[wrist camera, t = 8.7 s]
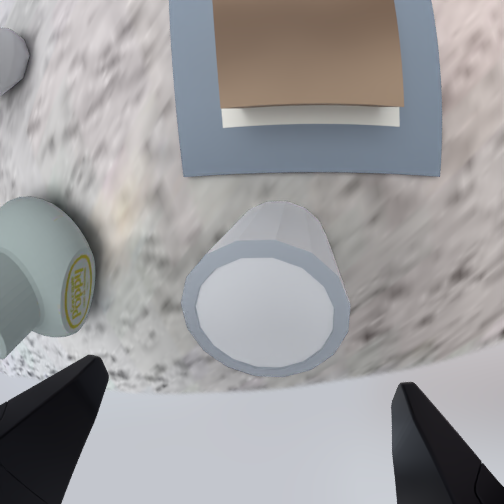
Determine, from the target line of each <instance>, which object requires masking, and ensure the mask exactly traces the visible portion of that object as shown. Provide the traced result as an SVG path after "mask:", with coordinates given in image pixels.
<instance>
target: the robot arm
mask: <svg viewBox="0 0 504 504" xmlns="http://www.w3.org/2000/svg"><path fill="white" fill-rule="evenodd" d="M108 379H109V375H108V372H107V370H106V368H105V366H104V363H103V361H102V359H101V358H100V357H98V356H94V355H87V356H85V357H84V358H82V359H80V360H78V361H77V362H75V363H73V364H72V365H70V366H68V367H66V368H65V369H63V370H61V371H59V372H58V373H56V374H54V375H52V376H51V377H49V378H47V379H45V380H44V381H42V382H40V383H39V384H37V385H35V386H33V387H32V388H30V389H28V390H26V391H24V392H23V393H21V394H19V395H17V396H16V397H14V398H12V399H10V400H9V401H8V402H5V403H3V404H2V405H0V504H61V503H62V500H63V497H64V495H65V492H66V489H67V487H68V484H69V482H70V479H71V476H72V474H73V471H74V469H75V466H76V464H77V461H78V459H79V457H80V454H81V452H82V449H83V447H84V445H85V442H86V440H87V438H88V435H89V433H90V431H91V428H92V426H93V424H94V421H95V419H96V416H97V413H98V411H99V407H100V404H101V401H102V398H103V395H104V392H105V389H106V386H107V383H108ZM391 410H392V455H393V465H394V474H395V484H396V495H397V504H504V487H503V486H502V485H501V484H500V483H499V482H498V480H497V479H496V478H495V477H494V476H493V475H492V474H491V472H490V471H489V470H488V469H487V468H486V466H485V465H484V464H483V463H482V464H481V460H480V459H479V458H478V457H477V455H476V454H475V453H474V452H473V451H472V449H471V448H470V447H469V446H468V445H467V443H466V442H465V441H464V440H463V439H462V438H461V436H460V435H459V434H458V433H457V432H456V430H455V429H454V428H453V427H452V426H451V424H450V423H449V422H448V421H447V420H446V419H445V417H444V416H443V415H442V414H441V413H440V412H439V411H438V409H437V408H436V407H435V406H434V405H433V404H432V402H431V401H430V400H429V399H428V398H427V397H426V395H425V394H424V393H423V392H422V391H421V390H420V389H419V387H418V386H417V385H416V384H415V383H413V382H404V383H400V384H399V385H398V388H397V390H396V393H395V395H394V398H393V400H392V405H391Z"/></svg>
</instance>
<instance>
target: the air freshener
mask: <svg viewBox="0 0 504 504" xmlns="http://www.w3.org/2000/svg"><path fill="white" fill-rule="evenodd" d="M94 286H95V262H94V257H93V254H92V252H91V249H90V247H89V244H88V243H87V241H86V239H85V237H84V235H83V234H82V232H81V231H80V229H79V228H78V226H77V225H76V224H75V223H74V222H73V220H72V219H71V218H70V217H69V216H68V215H67V214H66V213H65V212H63V211H62V210H61V209H60V208H58V207H57V206H55V205H54V204H52V203H50V202H48V201H46V200H43V199H40V198H36V197H19V198H16V199H13V200H10V201H8V202H7V203H6V204H4V205H3V206H2V207H1V208H0V359H5V358H6V357H7V355H8V354H9V353H10V352H11V351H12V350H13V349H14V348H15V347H16V346H17V345H18V344H19V343H20V342H21V341H22V340H23V339H24V338H25V337H26V336H27V335H28V334H29V333H30V332H31V331H33V332H36V333H38V334H41V335H44V336H49V337H66V336H69V335H72V334H74V333H76V332H78V331H79V330H80V328H81V327H82V326H83V324H84V322H85V320H86V318H87V315H88V313H89V309H90V306H91V303H92V298H93V293H94Z"/></svg>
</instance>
